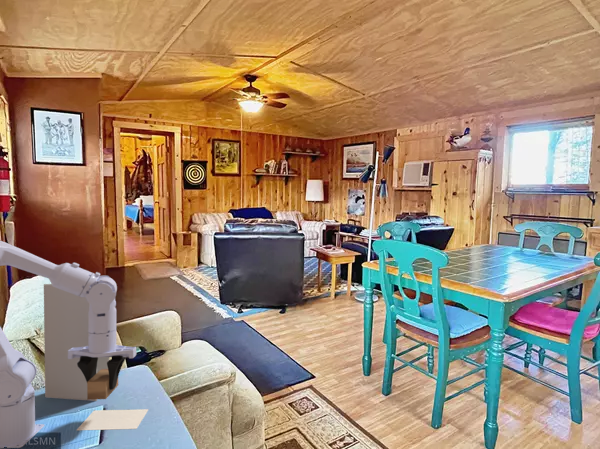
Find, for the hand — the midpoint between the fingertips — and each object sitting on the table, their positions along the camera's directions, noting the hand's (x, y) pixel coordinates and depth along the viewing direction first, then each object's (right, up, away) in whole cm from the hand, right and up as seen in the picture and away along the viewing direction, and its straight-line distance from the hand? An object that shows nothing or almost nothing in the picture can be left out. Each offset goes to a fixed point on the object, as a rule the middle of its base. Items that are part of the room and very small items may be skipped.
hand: (102, 387), depth 86 cm
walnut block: (0, -1, 0) cm, 1 cm away
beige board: (+2, -8, +1) cm, 8 cm away
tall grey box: (-13, -8, +12) cm, 19 cm away
